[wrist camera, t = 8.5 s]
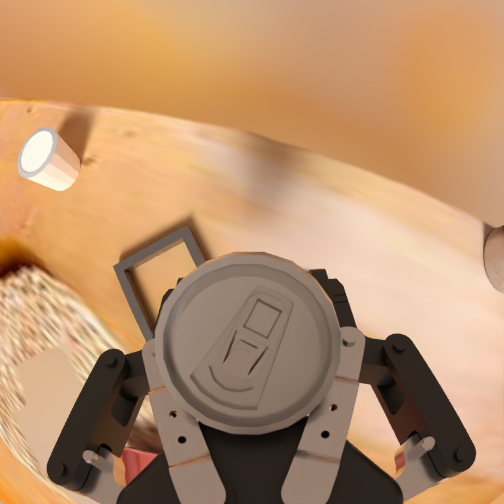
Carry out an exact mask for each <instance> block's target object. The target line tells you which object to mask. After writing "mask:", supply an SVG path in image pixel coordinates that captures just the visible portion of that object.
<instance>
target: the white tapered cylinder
mask: <svg viewBox="0 0 504 504" xmlns="http://www.w3.org/2000/svg"><path fill="white" fill-rule="evenodd" d="M17 163H18V171H19V173H20V175H21V176H23V177H25V178H27V179H29V180H32V181H34V182H37V183H39V184H42V185H44V186H47V187H49V188H52V189H54V190H57V191H61V190H65V189H67V188H68V187H70V186H71V185H72V184H73V182H74V181H75V180H76V178H77V176H78V174H79V171H80V166H81V165H80V159H79V158H78V156H77V155H76V154H75V153H74V152H73V151H72V149H71V148H70V147H69V146H68V145H67V144H66V143H65V142H64V140H63V139H62V138H61V137H60V136H59V135H58V134H57V132H56V131H55V130H54V129H53V128H50V127H44V128H40V129H38V130H37V131H36V132H34V133H33V134H31V136H30V137H29V138H28V139H27V140H26V141H25V143H24V145H23V147H22V149H21V150H20V153H19V157H18V161H17Z"/></svg>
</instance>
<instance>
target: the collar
mask: <svg viewBox="0 0 504 504" xmlns="http://www.w3.org/2000/svg"><path fill="white" fill-rule="evenodd" d="M182 242H185V244H186V246H187V248H188V250H189V252H190V254H191V257H192V259H193V261H194V263H195V265H196V267H197V268H198V267H199V266H200V265H202V264H203V263H205V262H206V260H205V258H204V256H203V254H202V252H201V250H200V248H199V245H198V243H197V241H196V239H195V237H194V235H193V233H192V231H191V229H190V227H189V226H188V225H186V226H184V227H182V228H180V229H179V230H177V231H175V232H173V233H171V234H169V235H167V236H166V237H164V238H162V239H160V240H158V241H157V242H155V243H153V244H151V245H149V246H148V247H146V248H144V249H142V250H140V251H139V252H137V253H135V254H133V255H132V256H130V257H128V258H126V259H125V260H123V261H121V262H119V263H118V264H116V265H114V266H113V267H114V270H115V272H116V275H117V277H118V280H119V282H120V285H121V287H122V289H123V292H124V294H125V296H126V299H127V301H128V303H129V306H130V308H131V310H132V312H133V314H134V317H135V319H136V321H137V323H138V325H139V327H140V330H141V332H142V334H143V336H144V338H145V340H146V342H148V341H149V340H151V339H152V337H153V333H154V329H155V328H154V326H153V324H152V322H151V320H150V318H149V316H148V313H147V311H146V309H145V307H144V305H143V303H142V300H141V298H140V296H139V294H138V291H137V289H136V287H135V285H134V282H133V280H132V278H131V275H130V273H129V271H131V270H133V269H134V268H136V267H138V266H140V265H141V264H143V263H145V262H147V261H149V260H151V259H152V258H154V257H156V256H158V255H160V254H161V253H163V252H165V251H167V250H169V249H171V248H173V247H174V246H176V245H178V244H180V243H182Z"/></svg>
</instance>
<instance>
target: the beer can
mask: <svg viewBox="0 0 504 504" xmlns="http://www.w3.org/2000/svg"><path fill="white" fill-rule="evenodd" d="M340 356H341V332H340V326H339V323H338V319H337V316H336V313H335V310H334V307H333V303H332V301H331V299H330V298H329V297H328V295H327V294H326V292H325V291H324V290H323V288H322V287H321V286H320V284H319V283H318V281H317V280H316V279H315V278H314V277H313V276H312V275H310V274H309V273H307V272H306V271H305V270H303V269H302V268H301V267H299V266H298V265H296V264H295V263H294V262H292V261H290V260H287V259H284V258H281V257H278V256H275V255H272V254H268V253H265V252H233V253H230V254H227V255H223V256H220V257H217V258H214V259H211V260H208V261H206V262H205V263H203V264H202V265H200V266H199V267H198V268H196V269H195V270H193V271H192V272H191V273H189V274H188V275H187V276H185V277H184V278H183V279H182V280H181V281H180V282H179V283H178V285H177V286H176V287H175V289H174V290H173V292H172V293H171V294H170V296H169V297H168V299H167V300H166V301H165V303H164V304H163V307H162V310H161V313H160V317H159V320H158V323H157V326H156V329H155V359H156V362H157V365H158V368H159V371H160V374H161V377H162V379H163V382H164V385H165V387H166V388H167V389H168V391H169V392H170V393H171V395H172V396H173V397H174V399H175V400H176V401H177V403H178V404H179V405H180V407H181V408H182V409H184V410H185V411H186V412H188V413H189V414H190V415H192V416H193V417H195V418H196V419H197V420H199V421H200V422H202V423H203V424H205V425H207V426H210V427H213V428H216V429H219V430H222V431H225V432H228V433H231V434H253V435H261V434H265V433H269V432H272V431H276V430H279V429H283V428H286V427H289V426H290V425H292V424H294V423H295V422H297V421H298V420H300V419H301V418H303V417H304V416H306V415H307V414H309V413H310V412H312V411H313V410H314V409H315V407H316V406H317V405H318V404H319V403H320V401H321V400H322V399H323V398H324V396H325V395H326V394H327V393H328V391H329V390H330V388H331V386H332V383H333V381H334V378H335V375H336V373H337V370H338V367H339V365H340Z"/></svg>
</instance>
